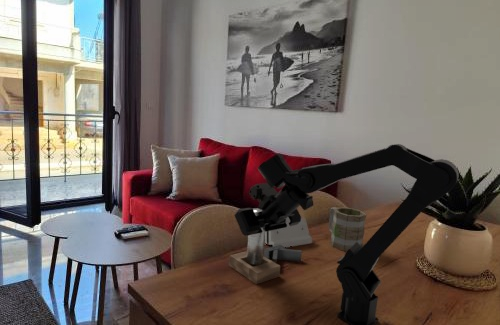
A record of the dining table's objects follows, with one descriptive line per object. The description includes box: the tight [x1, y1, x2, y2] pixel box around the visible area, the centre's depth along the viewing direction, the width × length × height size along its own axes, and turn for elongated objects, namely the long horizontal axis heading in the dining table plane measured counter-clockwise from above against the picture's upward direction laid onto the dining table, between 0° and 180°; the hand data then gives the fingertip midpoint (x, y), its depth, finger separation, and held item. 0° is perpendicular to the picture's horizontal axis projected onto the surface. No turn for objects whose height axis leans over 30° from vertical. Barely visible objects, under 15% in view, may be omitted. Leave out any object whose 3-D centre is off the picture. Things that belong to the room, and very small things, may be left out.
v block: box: [263, 245, 303, 264], centre depth 99 cm, size 7×12×3 cm, turn 128°
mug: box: [328, 206, 367, 252], centre depth 117 cm, size 16×11×12 cm
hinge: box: [264, 217, 313, 248], centre depth 114 cm, size 17×5×10 cm, turn 120°
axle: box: [246, 207, 266, 264], centre depth 90 cm, size 4×4×14 cm
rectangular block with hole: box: [228, 250, 281, 285], centre depth 91 cm, size 12×8×3 cm, turn 38°
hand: (253, 232), depth 91 cm, fingers closed on axle, 4 cm apart
